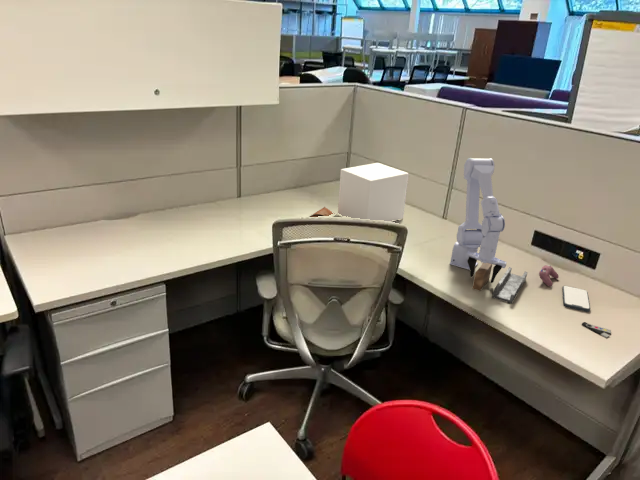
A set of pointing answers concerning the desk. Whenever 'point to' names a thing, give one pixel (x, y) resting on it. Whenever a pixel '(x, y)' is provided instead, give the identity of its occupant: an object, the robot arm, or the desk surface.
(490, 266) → the brown rectangular block
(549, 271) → the video game controller
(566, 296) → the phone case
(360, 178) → the cube
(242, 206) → the desk surface
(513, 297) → the rail
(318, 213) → the sunglasses case
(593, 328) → the usb flash drive
